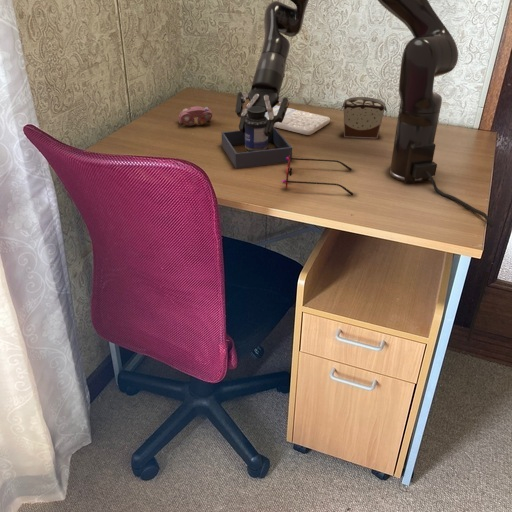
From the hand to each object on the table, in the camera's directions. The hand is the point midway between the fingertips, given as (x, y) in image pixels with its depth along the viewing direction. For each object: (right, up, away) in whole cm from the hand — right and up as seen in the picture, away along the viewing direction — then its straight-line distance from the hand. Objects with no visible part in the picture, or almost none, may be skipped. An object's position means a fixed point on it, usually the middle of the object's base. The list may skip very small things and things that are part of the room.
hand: (254, 133), depth 147 cm
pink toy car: (-17, +7, +23) cm, 30 cm away
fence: (0, -4, +5) cm, 7 cm away
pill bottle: (+1, -4, +4) cm, 6 cm away
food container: (+30, +3, +17) cm, 35 cm away
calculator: (+11, +8, +25) cm, 28 cm away
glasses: (+15, -14, -8) cm, 22 cm away
